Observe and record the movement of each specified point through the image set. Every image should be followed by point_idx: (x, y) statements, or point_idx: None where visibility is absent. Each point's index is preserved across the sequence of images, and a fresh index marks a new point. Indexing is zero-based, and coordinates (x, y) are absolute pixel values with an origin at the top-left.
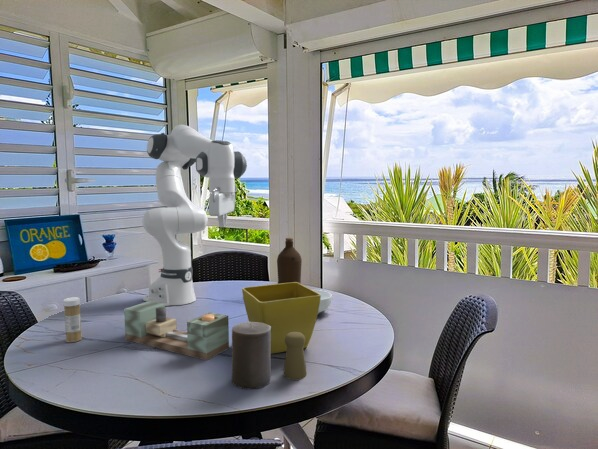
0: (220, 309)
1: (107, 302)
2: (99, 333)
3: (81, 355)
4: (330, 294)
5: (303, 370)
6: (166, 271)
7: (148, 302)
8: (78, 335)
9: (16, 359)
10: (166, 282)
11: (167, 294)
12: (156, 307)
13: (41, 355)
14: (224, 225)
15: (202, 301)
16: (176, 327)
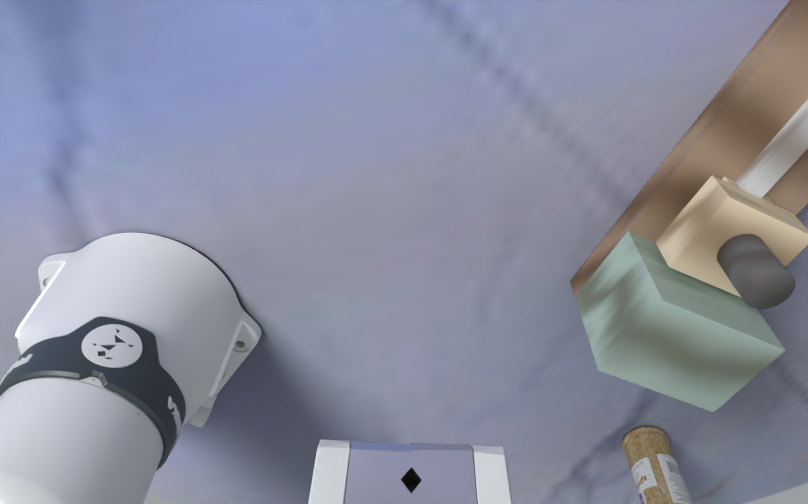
0: (239, 66)
1: (252, 491)
2: (587, 406)
3: (788, 379)
4: None
5: None
6: (170, 451)
7: (624, 365)
8: (661, 442)
9: (769, 486)
10: (198, 403)
11: (229, 353)
12: (703, 314)
13: (755, 456)
14: (459, 461)
15: (126, 197)
16: (714, 178)
